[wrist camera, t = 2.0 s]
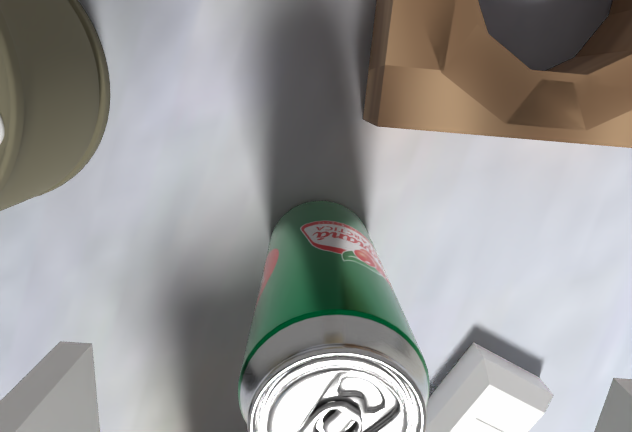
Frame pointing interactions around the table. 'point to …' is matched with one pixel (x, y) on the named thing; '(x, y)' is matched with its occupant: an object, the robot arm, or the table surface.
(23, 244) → the table surface
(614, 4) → the square wooden ring holder
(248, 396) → the soda can
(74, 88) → the can
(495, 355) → the soap bar
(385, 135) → the table surface
